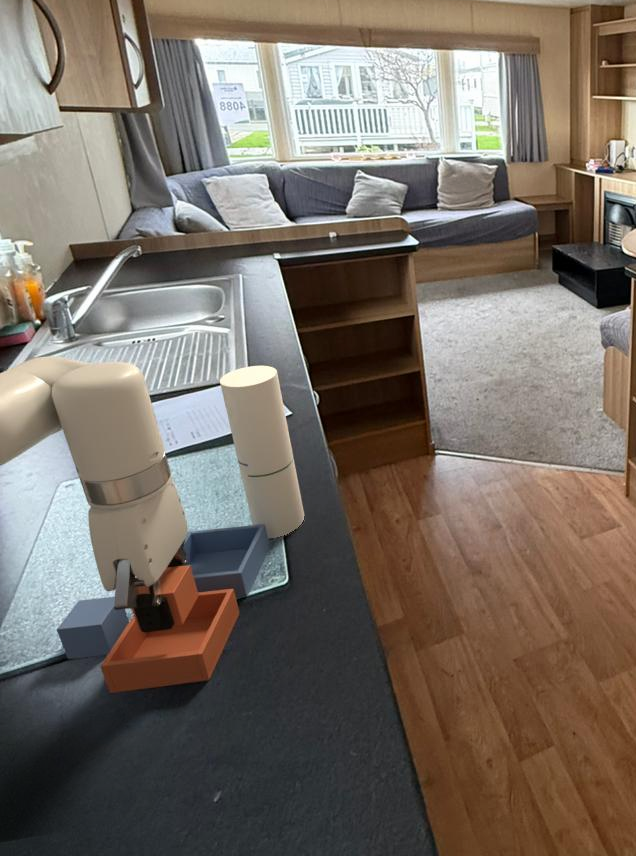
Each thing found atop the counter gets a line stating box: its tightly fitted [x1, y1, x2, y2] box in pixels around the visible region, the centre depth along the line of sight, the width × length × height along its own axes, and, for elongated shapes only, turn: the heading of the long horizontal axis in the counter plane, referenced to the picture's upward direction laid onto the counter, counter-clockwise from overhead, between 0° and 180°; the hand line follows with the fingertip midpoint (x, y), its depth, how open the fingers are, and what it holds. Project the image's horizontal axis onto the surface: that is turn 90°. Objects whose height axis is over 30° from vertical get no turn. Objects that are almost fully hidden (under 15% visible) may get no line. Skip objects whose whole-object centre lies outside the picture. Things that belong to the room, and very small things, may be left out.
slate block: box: [56, 596, 130, 660], centre depth 78 cm, size 5×5×5 cm
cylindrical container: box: [219, 365, 305, 539], centre depth 95 cm, size 7×7×25 cm
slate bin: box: [183, 524, 271, 599], centre depth 89 cm, size 10×10×4 cm
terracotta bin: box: [99, 589, 240, 694], centre depth 77 cm, size 10×10×4 cm
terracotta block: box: [131, 565, 199, 630], centre depth 74 cm, size 5×5×5 cm
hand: (168, 609), depth 75 cm, fingers closed on terracotta block, 4 cm apart
